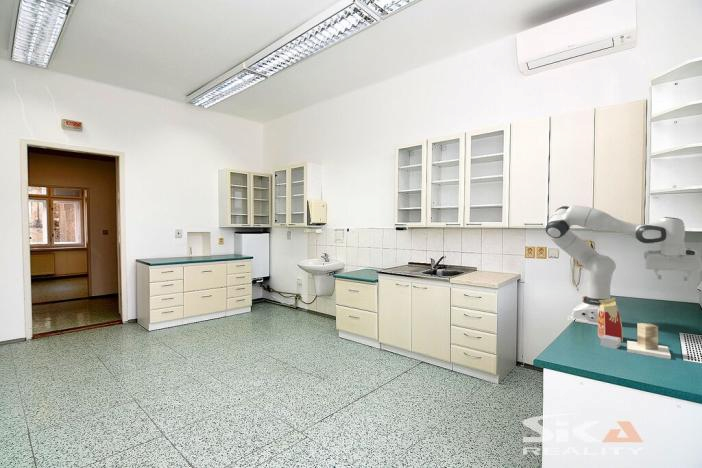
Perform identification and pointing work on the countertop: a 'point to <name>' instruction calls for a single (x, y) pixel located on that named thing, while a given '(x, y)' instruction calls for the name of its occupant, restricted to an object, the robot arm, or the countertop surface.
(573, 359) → the countertop surface
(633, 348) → the off-white board
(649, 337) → the maple block
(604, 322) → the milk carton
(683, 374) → the countertop surface
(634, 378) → the countertop surface
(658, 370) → the countertop surface
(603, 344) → the grey plastic box
